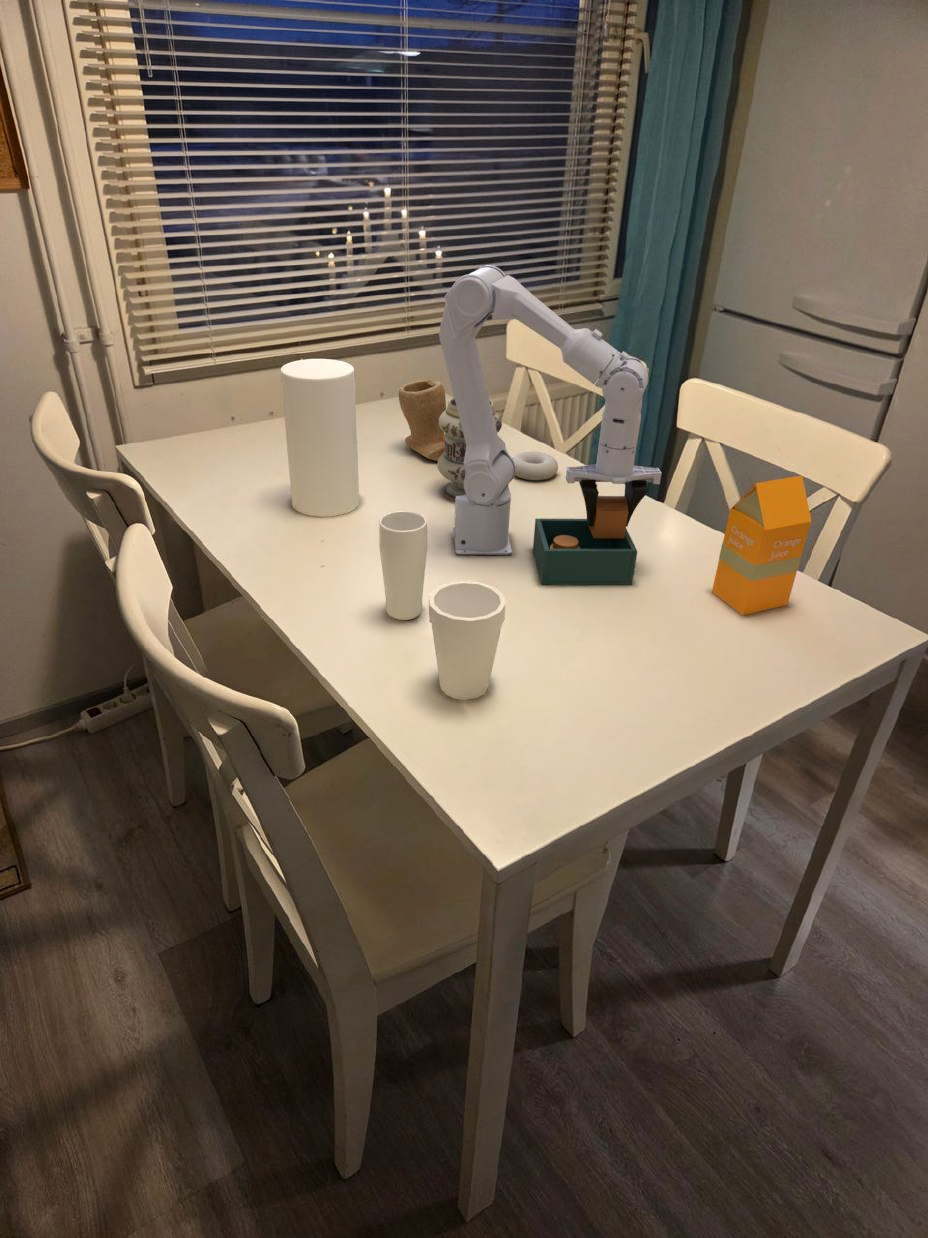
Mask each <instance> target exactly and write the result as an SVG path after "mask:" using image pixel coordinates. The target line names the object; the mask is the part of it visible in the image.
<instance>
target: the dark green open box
mask: <svg viewBox="0 0 928 1238" xmlns="http://www.w3.org/2000/svg"><path fill="white" fill-rule="evenodd" d="M560 535H568V536H572V537H575V538H576V539H577V540H578V546H579V547H580V549H550V546H551V544H553V541H554V538H555V537H557V536H560ZM532 554H533V557H534V561H535V565H536V569H537V572H538V577H539V580H540V584H541V585H542V586H555V585H556V586H558V585H559V586H577V585H578V586H632V585H633V581H634V576H635V569H636V564H637V563H636V562H637V556H638V549H637V548H636V545H635V543H634V541H633V539H632V537H631V535H630V533H629V531H628V528H626V531H625V538H593V535H592V533H591V530H590V528H589V526H588V523H587V518H535V519H534V530H533V542H532Z"/></svg>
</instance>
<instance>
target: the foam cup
mask: <svg viewBox="0 0 928 1238" xmlns="http://www.w3.org/2000/svg"><path fill="white" fill-rule="evenodd" d="M506 605H507V604H506V599H505V595H504V594H503V593H502V592H501V591H500V590H498V589H497V588H496V587H495V586H492V585H489V584H486V583H484V582H480V581H470V580H460V581H459V580H458V581H450V582H446V583H445V584H444V583H443V584H442V585H440V586H437V587H435V588H434V590H433V591H431V593H430V594H429V596H428V618H429V622H430V624H431V629H432V636H433V643H434V650H435V658H436V666H437V672H438V678H439V680H438V681H439V686H440V690H441V691H442V692H443V693H444V695H446V696H447V697H450V698H452V699H455V700H463V701H468V700H475V699H477V698H479V697H481V696H483V695H485V694H486V692H487V690H488V688H489V685H490V680H491V677H492V672H493V667H494V664H495V663H494V662H495V659H496V655H497V654H496V653H497V649H498V644H499V641H500V636H501V630H502V627H503V623H504V622H505V619H506Z"/></svg>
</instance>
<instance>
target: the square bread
mask: <svg viewBox="0 0 928 1238" xmlns="http://www.w3.org/2000/svg"><path fill="white" fill-rule="evenodd" d="M627 518H628V502H627V498H626V497H625V496H624V495H598V497H597V501H596V506H595V516H594V523H593V526H589V528H590V530H591V533H592V535H593V538H625V531H626V529H627V526H626V524H627Z"/></svg>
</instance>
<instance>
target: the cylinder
mask: <svg viewBox="0 0 928 1238" xmlns="http://www.w3.org/2000/svg"><path fill="white" fill-rule="evenodd" d="M355 380H356V379H355V367H354V366H353V365H352V364H350V363H348V362H345V361H343V360H338V359H332V358H331V359H330V358H306V359H305V358H304V359H299V360H294V361H291V362H287V363H286V364H283V365H282V366H281V367H280V381H281V393H282V404H283V405H282V406H283V416H284V426H285V427H284V429H285V438H286V439H285V440H286V451H287V462H288V472H289V473H288V474H289V484H290V485H289V486H290V497H291V505H292V508H293V509H294V510H295V511H296V512H298V513H300V514H302V515H306V516H310V517H319V518H320V517H321V518H323V517H324V518H326V517H335V516H336V517H337V516H341V515H346V514H348V513H350V512H353V511H354V510H355V509H356V508H357V507H358V506H359V505H360V482H359V457H358V431H357V406H356V405H357V404H356V382H355Z"/></svg>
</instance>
